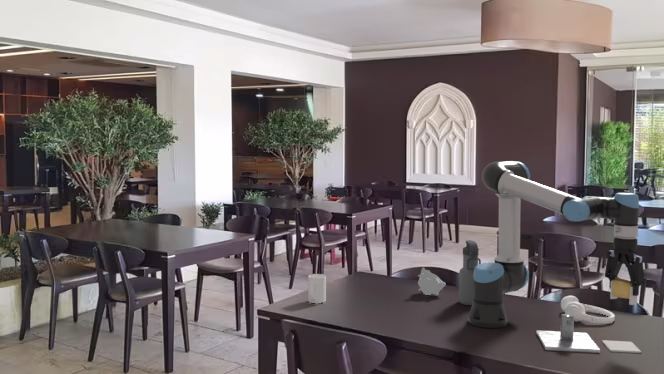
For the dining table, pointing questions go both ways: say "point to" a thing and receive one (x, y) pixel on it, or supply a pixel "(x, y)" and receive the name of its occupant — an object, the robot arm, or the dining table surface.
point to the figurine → (430, 282)
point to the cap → (621, 287)
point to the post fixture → (567, 338)
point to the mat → (621, 346)
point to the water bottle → (468, 272)
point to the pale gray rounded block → (317, 288)
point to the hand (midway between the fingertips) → (623, 301)
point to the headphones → (578, 311)
